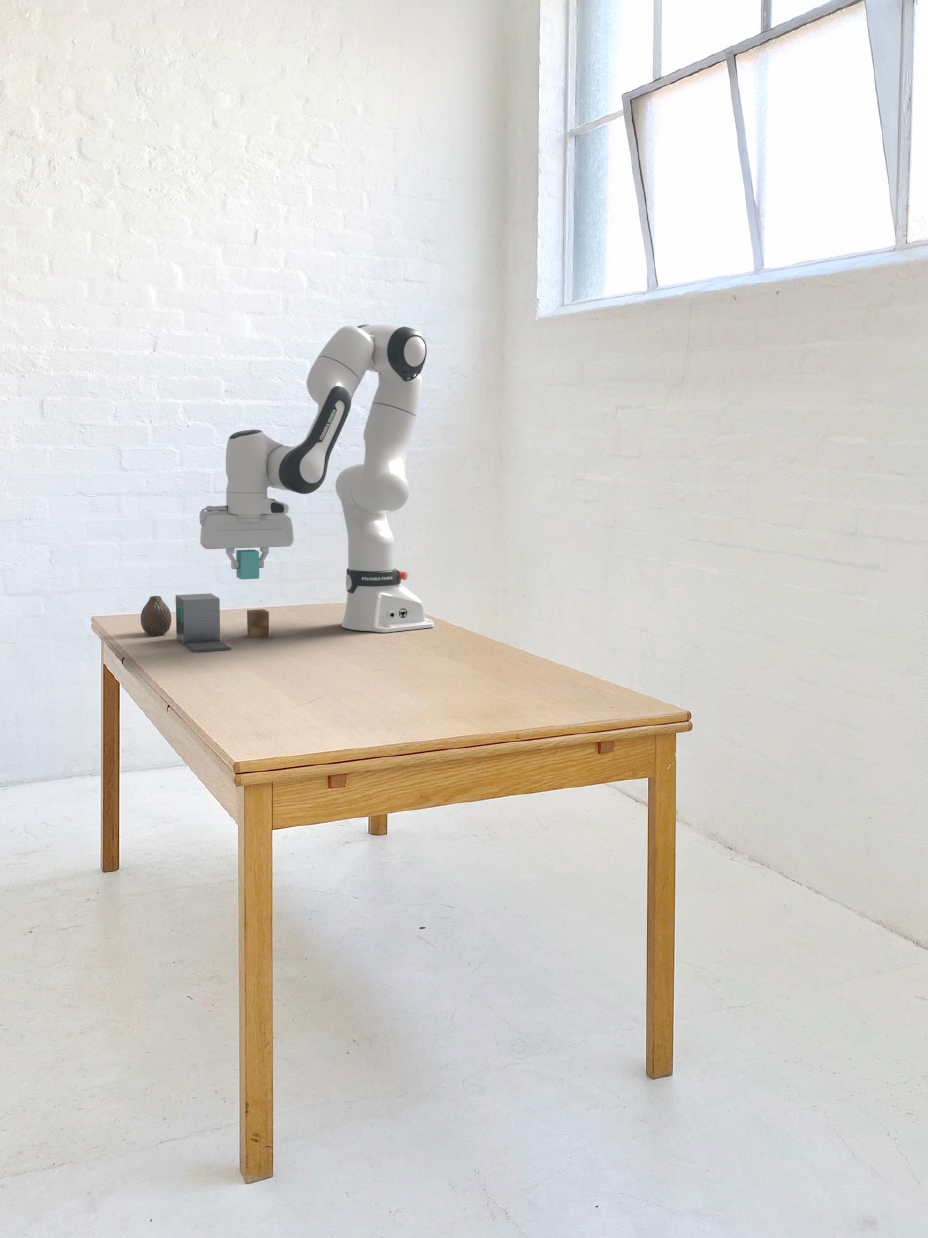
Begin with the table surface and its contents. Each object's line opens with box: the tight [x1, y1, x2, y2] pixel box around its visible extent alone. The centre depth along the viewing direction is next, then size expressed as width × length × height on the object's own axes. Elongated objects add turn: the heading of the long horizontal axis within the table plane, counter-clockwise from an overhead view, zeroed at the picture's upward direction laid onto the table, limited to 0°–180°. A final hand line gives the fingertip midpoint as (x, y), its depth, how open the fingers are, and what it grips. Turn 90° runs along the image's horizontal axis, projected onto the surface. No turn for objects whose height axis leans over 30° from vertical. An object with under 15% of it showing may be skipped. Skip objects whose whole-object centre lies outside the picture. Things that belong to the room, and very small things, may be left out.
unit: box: [175, 593, 221, 646], centre depth 268 cm, size 8×8×10 cm
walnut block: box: [246, 608, 270, 640], centre depth 275 cm, size 4×4×6 cm
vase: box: [140, 595, 172, 636], centre depth 276 cm, size 7×7×9 cm
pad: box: [186, 640, 232, 653], centre depth 261 cm, size 8×7×1 cm
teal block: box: [235, 549, 260, 580], centre depth 262 cm, size 4×4×6 cm
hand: (247, 568), depth 263 cm, fingers closed on teal block, 4 cm apart
